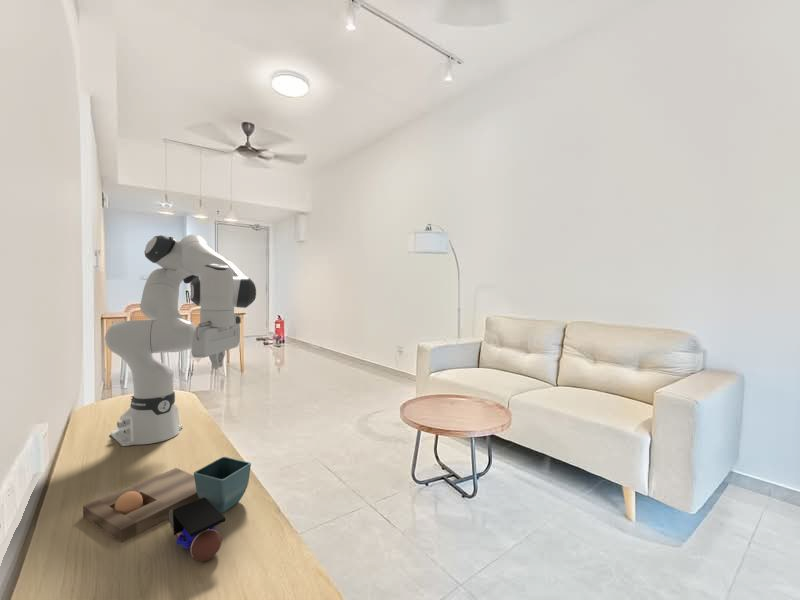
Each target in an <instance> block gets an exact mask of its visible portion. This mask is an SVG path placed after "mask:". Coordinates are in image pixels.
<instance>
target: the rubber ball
mask: <svg viewBox="0 0 800 600" xmlns="http://www.w3.org/2000/svg"><path fill="white" fill-rule="evenodd" d="M141 507H143V498H142V496H141V494H140V493H138V492H136V491H129V492H126V493H124V494H123V495H121V496H120V497H119V498H118V500H117V501H116V503H115V510H117V511H118V512H120V513H122V514H123V515H126V514H128V513H130V512H132V511H134V510H136V509H139V508H141Z"/></svg>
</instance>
